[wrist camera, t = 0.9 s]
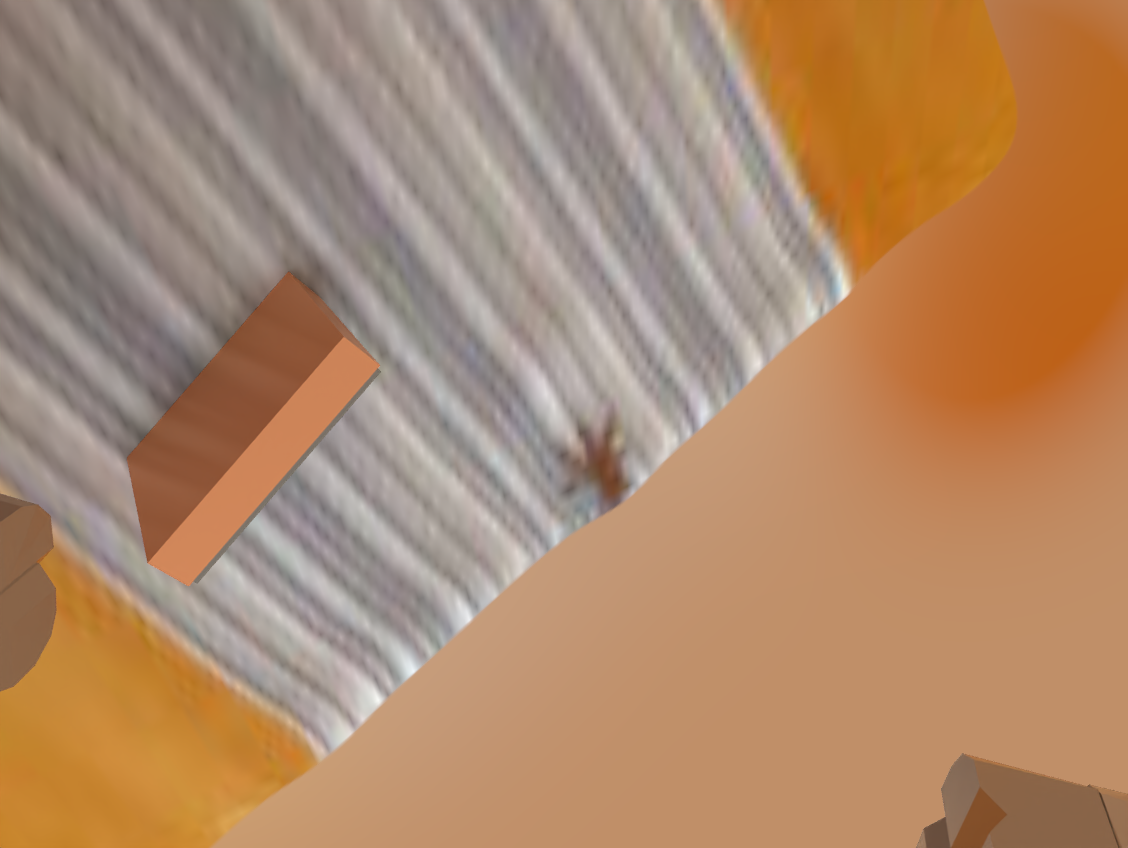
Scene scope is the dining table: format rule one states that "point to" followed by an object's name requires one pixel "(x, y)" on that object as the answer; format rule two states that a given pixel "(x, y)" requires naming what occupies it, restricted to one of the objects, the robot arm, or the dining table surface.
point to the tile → (244, 428)
